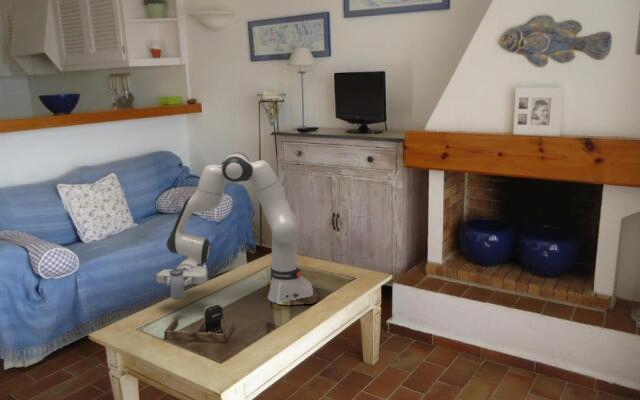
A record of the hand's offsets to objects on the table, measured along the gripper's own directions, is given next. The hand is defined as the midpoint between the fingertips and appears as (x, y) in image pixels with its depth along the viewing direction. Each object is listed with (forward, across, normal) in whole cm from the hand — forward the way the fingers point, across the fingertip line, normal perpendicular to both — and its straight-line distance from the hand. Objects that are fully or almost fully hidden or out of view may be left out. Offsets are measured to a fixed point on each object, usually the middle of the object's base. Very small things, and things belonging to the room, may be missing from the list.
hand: (176, 283), depth 215 cm
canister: (-1, 0, +6) cm, 6 cm away
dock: (+12, +12, +15) cm, 23 cm away
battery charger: (+12, +18, +15) cm, 26 cm away
